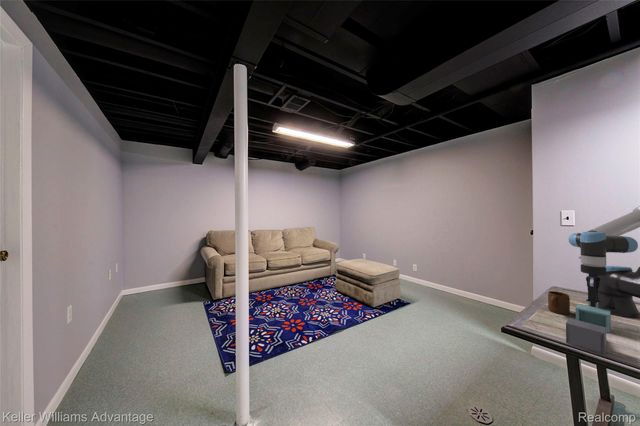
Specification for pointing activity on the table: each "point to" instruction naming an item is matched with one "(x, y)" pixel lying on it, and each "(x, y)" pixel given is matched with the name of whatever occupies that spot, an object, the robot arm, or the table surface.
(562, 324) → the table surface
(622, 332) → the table surface
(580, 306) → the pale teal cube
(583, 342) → the charcoal cap
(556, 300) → the mug
